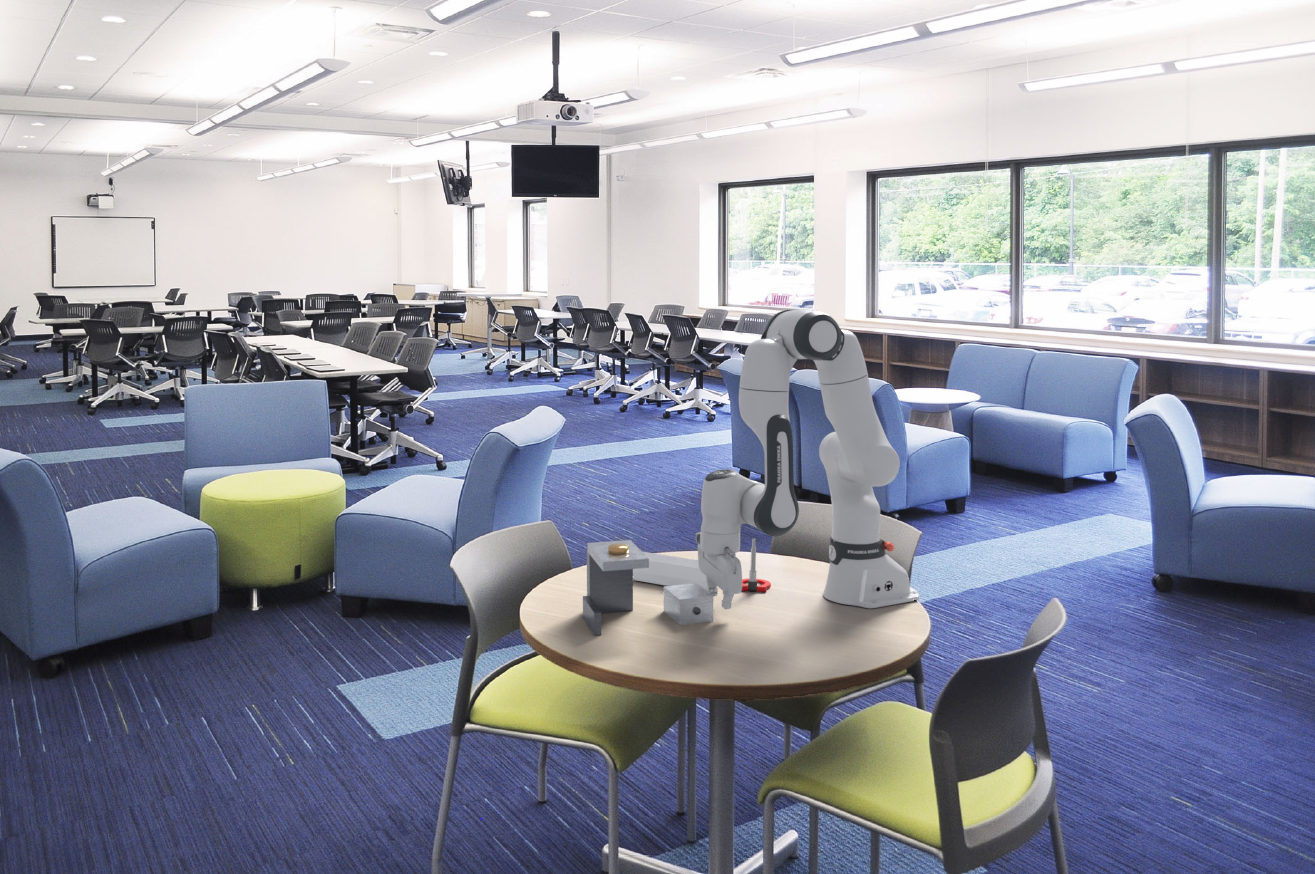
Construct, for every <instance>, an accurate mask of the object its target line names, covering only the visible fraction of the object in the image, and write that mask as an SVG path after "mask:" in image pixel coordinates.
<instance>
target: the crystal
mask: <svg viewBox="0 0 1315 874" xmlns="http://www.w3.org/2000/svg"><path fill="white" fill-rule="evenodd" d="M642 552H643V553H644V554H645V555H646V556H647V557H648V558H649V568H639V569H633V581H638V582H644V583H649V584H655V585H661V586H674V585H683V584H692V583H697V584H698V585H700V586H701V587H702V588H704V589H705V590H706V591H708V585H707V580H706V575H705V574H703V573H702V572H701V571H700V568H699V564H698V559H691V558H685V557H680V556H679V557H678V556H673V555H667V554H660V553H653V552H648V551H642ZM716 587H717V588H718V586H717V585H716Z"/></svg>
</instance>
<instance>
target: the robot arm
mask: <svg viewBox="0 0 1315 874" xmlns="http://www.w3.org/2000/svg"><path fill="white" fill-rule="evenodd" d="M863 353H864V352H863V350H862V347H861V344H860V341H859V339H858V337H857V335H856V334H855V333H853V332H852V331H851V330H847V329H841V328H840V326H839V324H838V323H837V321H836V320H835V318H833V317H832V316H831V315H829V314H828V313H826V312H823V311H820V310H813V309H807V308H806V309H805V308H800V309H785V310H782V311H779V312H777V313H775V314H773V316H772V317H770V319H769V320H768V322H767V324H766V326H765V328H764V331H763V333H762V335H761V336H760V339H757V340H754V341H752V342H750V343H749V345H748V346H747V348H746V350H745V353H744V357H743V360H742V366H741V371H740V379H739V385H738V386H739V389H738V408H739V414H740V417H741V419H742V420H743V421H744V423H745V424H746V425H747V427H749V428H750V429H751V430H752V432H753V433H754V434H755V435H756V436H757V438H758V439H759V442H760V443H761V445H762V450H763V453H764V483H762V482H759V481H756V480H752V479H750V478H747V477H745V476H743V475H741V474H740V473H738V471H737V470H735V469H731V468H726V469H718V470H714V471H712V472H710V473H708V474H707V475H706V476H705V477H704V480H703V483H702V489H701V496H700V497H701V499H700V501H701V503H700V511H701V516H702V520H701V521H702V523H701V526H700V531H699V532H696V533H695V542H696V543H697V560H698V564H699V568H700V571H701V572H702V573H703V574H705V575H706V580H707V585H708V592H709V593H710V594H712V595H713V597H717V596H718V588H719V589H721V591H722V595H723V596H722V600H721V607H722V608H723V609H724V610H731V609H732V601H733V598H734V595H737V594H738V595H739V594H741V592H743V591H742V579H743V571H742V570H743V569H742V563H741V560H740V559H739V558H738V557H737V556H736V555H737V553H738V552H740V550H741V527H742V525H744V524H748V525H749V526H752V527H755V528H756V529H758V530H759V531H761V532H762V533H764V534H765V535H766V536H768V537H773V538H774V537H775V538H776V537H782V536H783V535H785V534H787V533H789V532H790V531H791V530H792V529H793V528H794V526H795V525H796V524H797V521H798V519H799V514H800V513H799V512H800V508H799V502H798V499H797V495H796V491H795V482H794V481H795V479H794V478H795V477H794V475H795V474H794V442H793V441H794V440H793V439H794V438H793V430H792V423H791V420H790V413H789V412H790V411H789V408H790V407H789V394H790V376H791V372H792V369H793V367H794V365H795V363H796V362H797V361H798V360H811V361H813V362H814V364H815V367H816V369H817V377H818V381H819V388H820V392H821V398H822V403H823V407H824V408H823V409H824V413H825V416H826V418H827V419H828V421H829V422H830V424H831V425H832V428H833V429H834V431H832V432H830V433H828V434H827V435H825V436H824V437H823V439H822V440H821V442H820V444H819V448H818V457H819V459H820V462H821V463H822V465H823V467H824V470H825V474H826V478H827V482H828V483H827V485H828V489H829V493H830V501H831V509H832V510H831V536H830V538H829V545H828V546H829V547H828V558H829V559H828V560H829V567H828V568H829V569H828V573H827V574H828V575H827V579H826V581H825V583H826V584H825V586H824V590H823V592H822V595H823V597H824V598H825V599H826V600H829V601H830V602H834V603H837V604H842V605H848V606H856V607H861V608H865V609H876V608H883V607H887V606H893V605H898V604H905V603H909V602H910V603H911V602H915V601H914V600H916V601H919V600H920V594H919V593H920V592H918V591H917V590H916V589H915V588H913V587H912V586H911V584H910V578H909V575H908V572H907V570H906V569H905V568H904V567H903V566H901V565H900V564H899V563H898V562H897V561H895V560H894V559H893V558H892V557H890V556H889V555H888V554H887V552H893V551H894V549H895V544H894V543H892V542H890V541H885V540H883V539H881V538H880V530H881V529H880V526H881V524H880V523H881V507H880V504H879V501H878V500H877V497H876V495H875V492H874V489H873V487H884V486H886V485H889V484H891V483H892V482H893V481H894V480H895V479H896V477H897V476H898V473H899V472H900V471H899V470H900V465H901V464H900V463H901V462H900V457H899V455H898V453H897V452H896V450H895V448H893V446H892V445H891V443H890V442H889V440H888V438H887V436H886V433H885V431H884V428H883V426H882V423H881V421H880V418H879V416H878V414H877V411H876V409H875V405H874V401H873V395H872V389H871V384H870V379H869V374H868V369H867V368H868V367H867V364H866V360H865V357H864V354H863ZM886 551H887V552H886ZM716 585H717V587H716ZM913 599H914V600H913Z"/></svg>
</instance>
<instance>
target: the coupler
mask: <svg viewBox="0 0 1315 874" xmlns="http://www.w3.org/2000/svg"><path fill="white" fill-rule="evenodd" d="M586 544H587V550H586V595H582V619H583V620H584V622H585V623H586V625H587V627H588V628H589V630H590V631H591V632H592V634H593V636H594V637H595V636H602V614H608V613H618V612H630V611H633V610H634V592H633V591H634V578H633V569H639V568H649V558H648V557H647V556H646V555H645V554H644V553H643V552H644V551H642V550H641V549H640V548H639V546H637V545H636V543H634V542H633V541H632V540H631V539H626V540H612V541H598V542H587V543H586Z"/></svg>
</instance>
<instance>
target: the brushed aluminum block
mask: <svg viewBox="0 0 1315 874" xmlns="http://www.w3.org/2000/svg"><path fill="white" fill-rule="evenodd" d="M663 612H664V614H666V616H669V617H670V618H671V619H672V620H673V621H674V622H675V623H676V624H677V625H678V626H684V625H692V624H700V623H707V622H713V621H714V596H713V595H712V594H710V593H709V592H708V591H706V590H705V589H704V588H702V587H701V586H700V585H698V584H697V583H692V584H683V585H674V586H666V585H663Z"/></svg>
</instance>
